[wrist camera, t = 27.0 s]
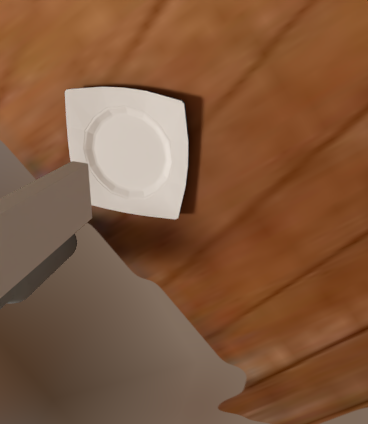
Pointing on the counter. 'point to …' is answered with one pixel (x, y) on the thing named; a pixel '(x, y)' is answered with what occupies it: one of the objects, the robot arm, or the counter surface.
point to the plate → (130, 148)
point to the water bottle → (40, 273)
